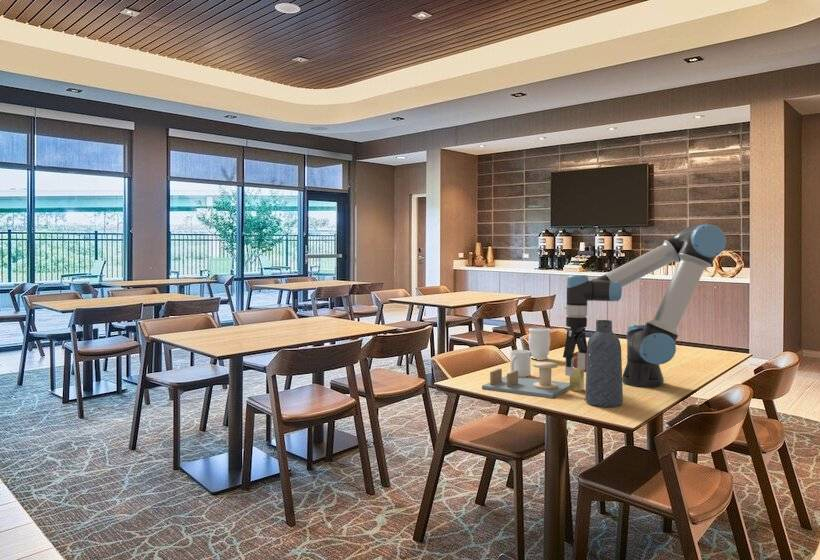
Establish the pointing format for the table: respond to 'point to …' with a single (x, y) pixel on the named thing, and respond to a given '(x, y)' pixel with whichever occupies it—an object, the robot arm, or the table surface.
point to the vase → (604, 367)
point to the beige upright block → (577, 380)
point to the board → (528, 382)
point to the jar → (539, 342)
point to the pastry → (575, 362)
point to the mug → (520, 362)
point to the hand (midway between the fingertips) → (575, 372)
